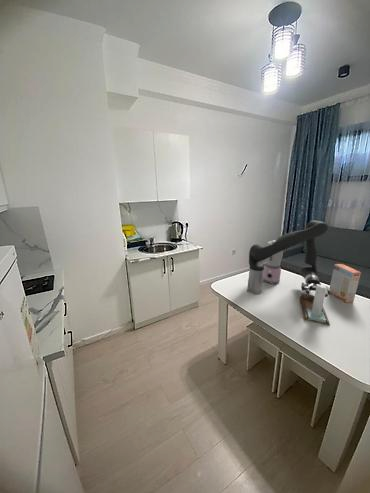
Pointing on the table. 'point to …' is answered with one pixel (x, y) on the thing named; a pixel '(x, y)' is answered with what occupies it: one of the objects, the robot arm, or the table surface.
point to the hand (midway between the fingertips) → (317, 294)
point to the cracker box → (344, 282)
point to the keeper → (318, 305)
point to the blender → (272, 267)
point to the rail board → (310, 307)
